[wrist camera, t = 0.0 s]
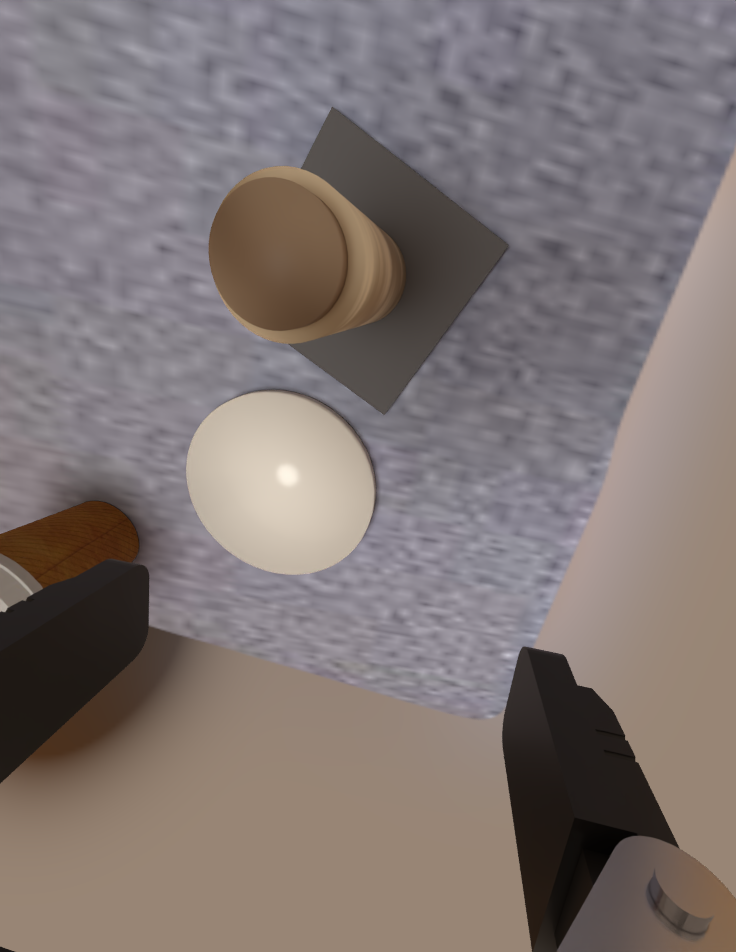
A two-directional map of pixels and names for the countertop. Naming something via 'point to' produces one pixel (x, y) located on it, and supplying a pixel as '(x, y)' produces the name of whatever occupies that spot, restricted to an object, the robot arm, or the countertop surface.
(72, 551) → the disposable coffee cup
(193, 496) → the plate
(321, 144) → the mat
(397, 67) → the countertop surface
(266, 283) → the pepper mill
